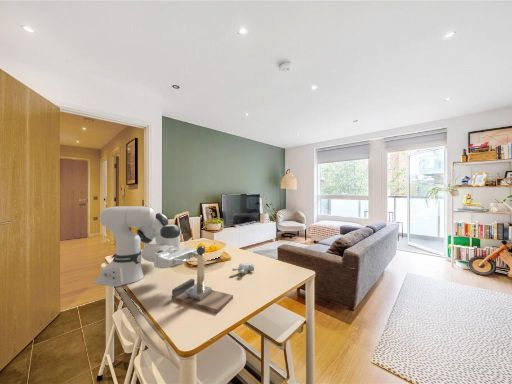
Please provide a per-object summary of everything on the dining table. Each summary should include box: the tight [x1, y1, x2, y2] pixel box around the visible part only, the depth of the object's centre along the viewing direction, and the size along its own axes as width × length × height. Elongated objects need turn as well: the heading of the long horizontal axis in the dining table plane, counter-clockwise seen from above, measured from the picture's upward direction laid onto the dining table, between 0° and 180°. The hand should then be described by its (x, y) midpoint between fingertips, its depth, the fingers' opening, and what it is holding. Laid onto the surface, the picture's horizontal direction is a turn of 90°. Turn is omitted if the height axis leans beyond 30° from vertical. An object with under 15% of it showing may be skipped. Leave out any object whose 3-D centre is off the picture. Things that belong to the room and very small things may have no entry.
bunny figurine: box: [231, 262, 255, 275], centre depth 119 cm, size 10×5×15 cm
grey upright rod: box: [185, 245, 213, 300], centre depth 89 cm, size 7×10×21 cm
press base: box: [170, 278, 234, 314], centre depth 89 cm, size 24×12×4 cm, turn 67°
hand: (192, 258), depth 92 cm, fingers open, 8 cm apart
